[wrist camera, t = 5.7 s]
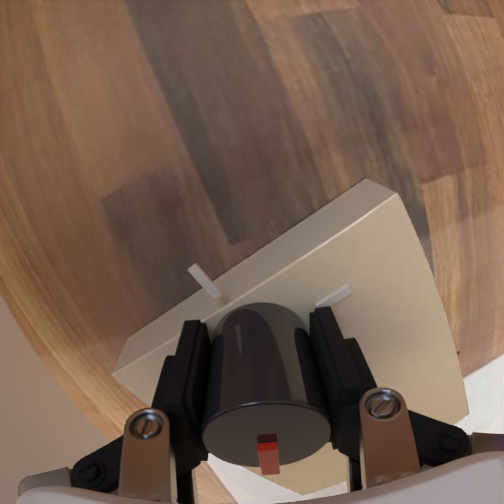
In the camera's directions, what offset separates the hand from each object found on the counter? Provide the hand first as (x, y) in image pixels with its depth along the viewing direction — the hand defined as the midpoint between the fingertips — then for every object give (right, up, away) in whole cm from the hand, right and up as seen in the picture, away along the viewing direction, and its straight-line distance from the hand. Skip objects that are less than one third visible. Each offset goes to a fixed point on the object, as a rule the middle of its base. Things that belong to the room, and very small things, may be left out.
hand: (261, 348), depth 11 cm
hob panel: (+4, -4, +5) cm, 8 cm away
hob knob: (0, 0, 0) cm, 0 cm away
